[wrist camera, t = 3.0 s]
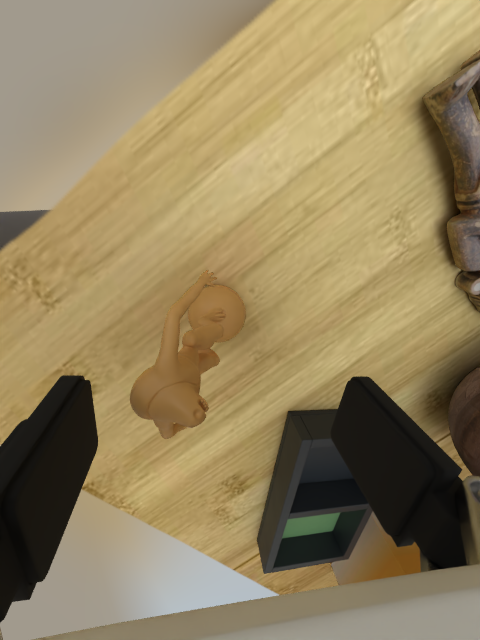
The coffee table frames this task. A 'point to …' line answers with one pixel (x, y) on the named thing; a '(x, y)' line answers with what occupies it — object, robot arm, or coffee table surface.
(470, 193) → the figurine
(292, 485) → the tray
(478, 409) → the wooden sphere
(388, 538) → the fox head
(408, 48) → the coffee table surface
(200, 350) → the figurine
